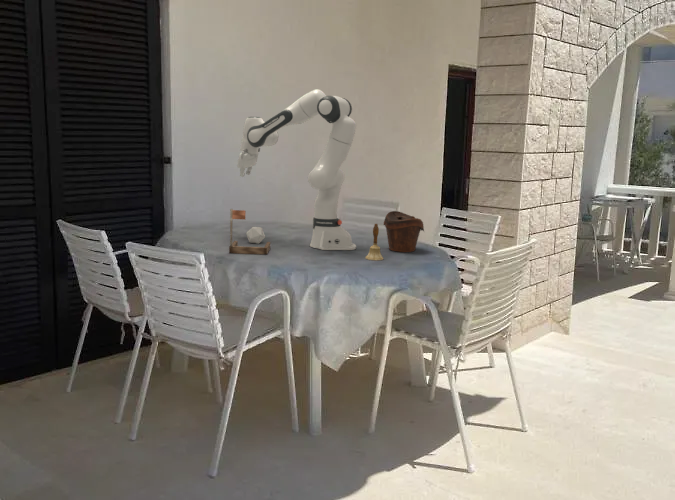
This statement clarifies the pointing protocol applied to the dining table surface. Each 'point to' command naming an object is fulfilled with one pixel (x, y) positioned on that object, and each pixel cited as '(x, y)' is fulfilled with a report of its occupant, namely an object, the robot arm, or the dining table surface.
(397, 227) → the brown lidded bucket
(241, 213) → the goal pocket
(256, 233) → the die
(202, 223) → the dining table surface
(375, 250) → the hand bell
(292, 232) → the dining table surface
